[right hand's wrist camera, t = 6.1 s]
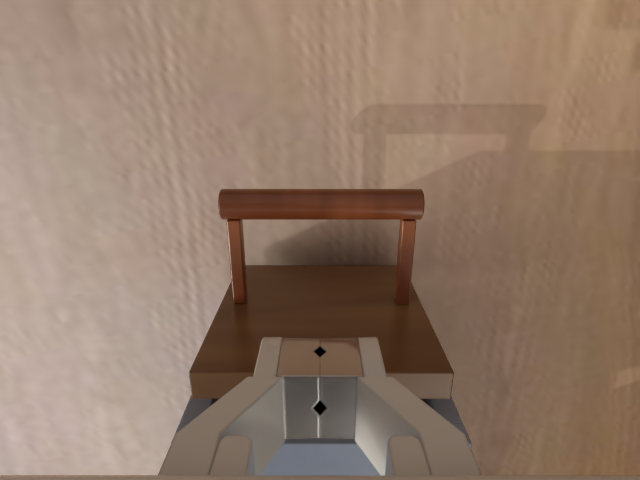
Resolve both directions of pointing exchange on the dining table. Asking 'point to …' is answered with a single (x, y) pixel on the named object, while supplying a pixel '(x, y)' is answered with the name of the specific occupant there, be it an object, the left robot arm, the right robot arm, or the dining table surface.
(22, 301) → the dining table surface
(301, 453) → the cabinet
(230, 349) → the drawer
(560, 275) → the dining table surface
